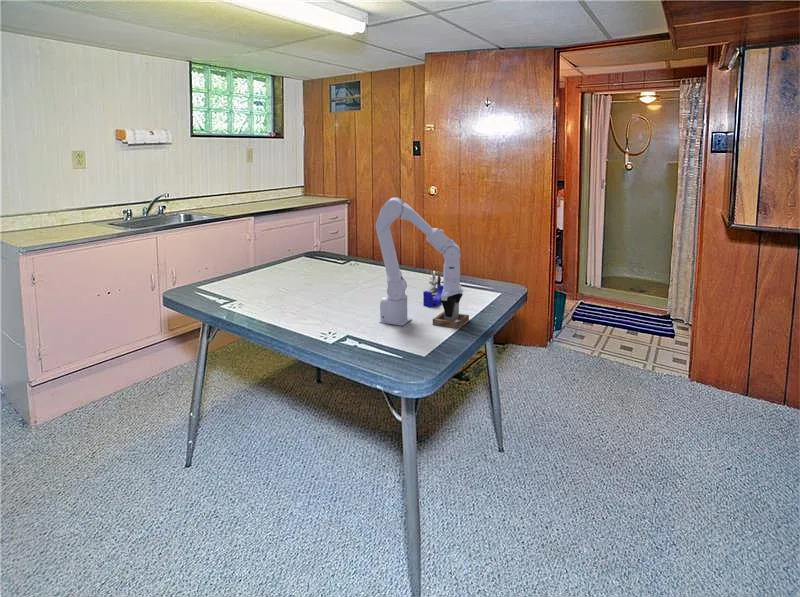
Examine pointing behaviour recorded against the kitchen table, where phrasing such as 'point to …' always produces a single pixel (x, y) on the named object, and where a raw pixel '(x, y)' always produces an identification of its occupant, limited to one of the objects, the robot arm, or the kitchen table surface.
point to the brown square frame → (440, 322)
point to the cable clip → (431, 301)
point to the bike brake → (434, 284)
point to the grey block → (455, 313)
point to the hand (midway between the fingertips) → (451, 314)
